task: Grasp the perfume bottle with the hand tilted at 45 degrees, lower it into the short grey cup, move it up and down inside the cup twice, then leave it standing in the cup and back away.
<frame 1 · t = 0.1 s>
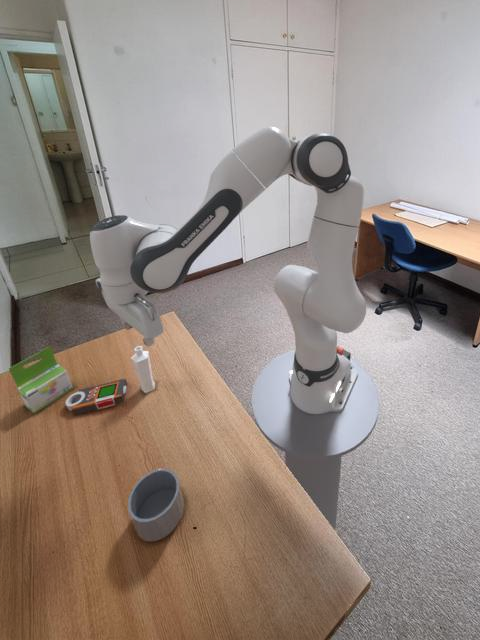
hand: (139, 335, 78), 26 cm above the table, tool pointing down, fingers open, 8 cm apart
ink box: (50, 397, 93), on the table
short grey cup: (160, 513, 68), on the table
perfume bottle: (148, 388, 96), on the table
electronic device: (98, 400, 92), on the table
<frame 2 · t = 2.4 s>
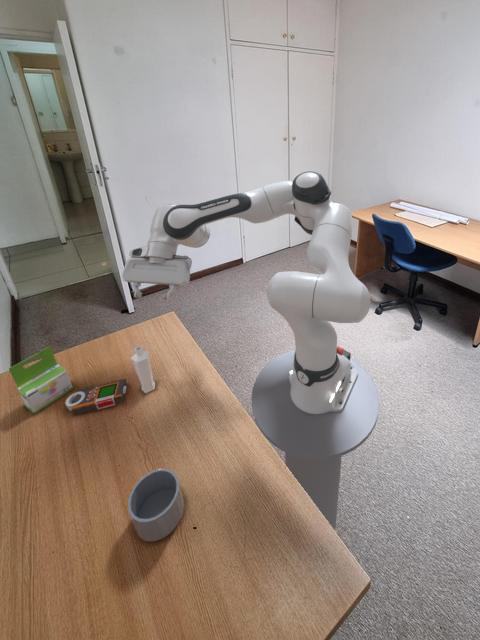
hand: (152, 298, 98), 23 cm above the table, tool tilted 40°, fingers open, 8 cm apart
nothing on the table moved.
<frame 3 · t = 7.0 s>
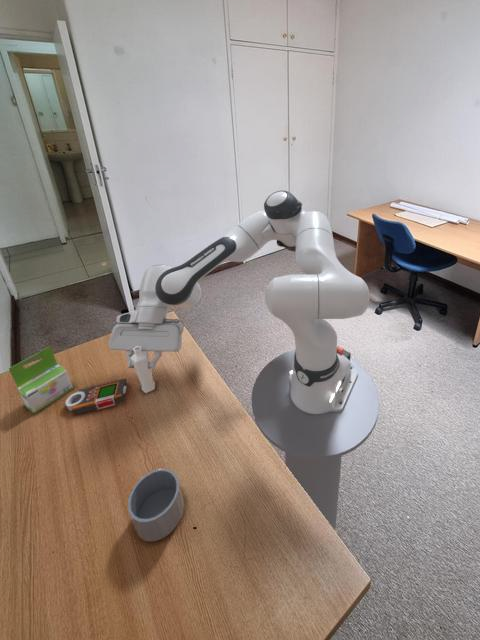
hand: (141, 368, 92), 8 cm above the table, tool tilted 45°, fingers closed on perfume bottle, 4 cm apart
perfume bottle: (148, 387, 96), on the table, touching gripper
everything else where it was.
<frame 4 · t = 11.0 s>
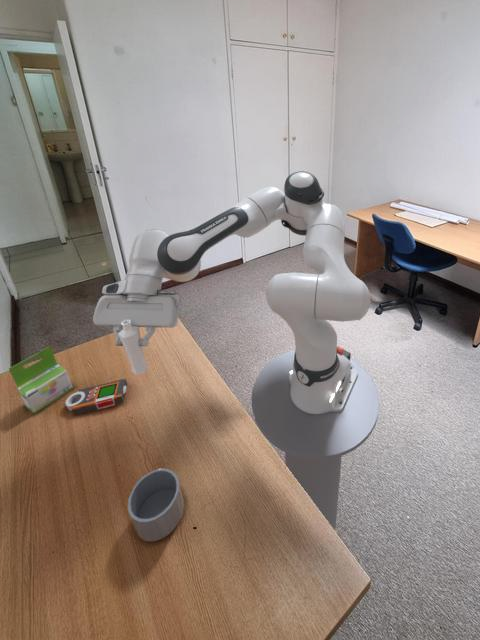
hand: (131, 346, 79), 23 cm above the table, tool tilted 45°, fingers closed on perfume bottle, 4 cm apart
perfume bottle: (139, 369, 83), point 15 cm above the table, touching gripper
everything else where it was.
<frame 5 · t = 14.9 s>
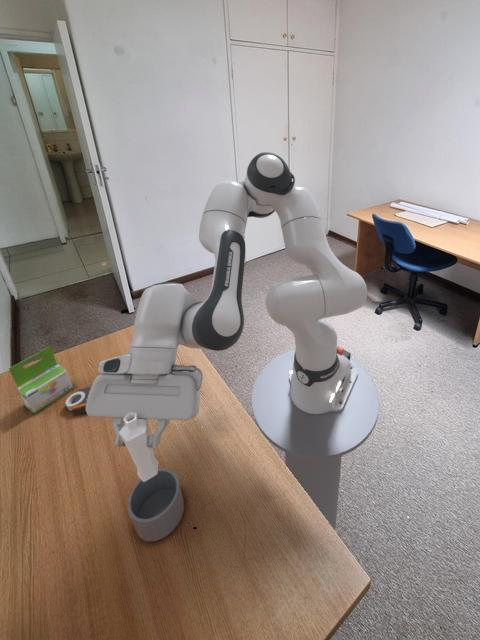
hand: (136, 446, 59), 22 cm above the table, tool tilted 45°, fingers closed on perfume bottle, 4 cm apart
perfume bottle: (147, 471, 63), point 13 cm above the table, touching gripper
everything else where it was.
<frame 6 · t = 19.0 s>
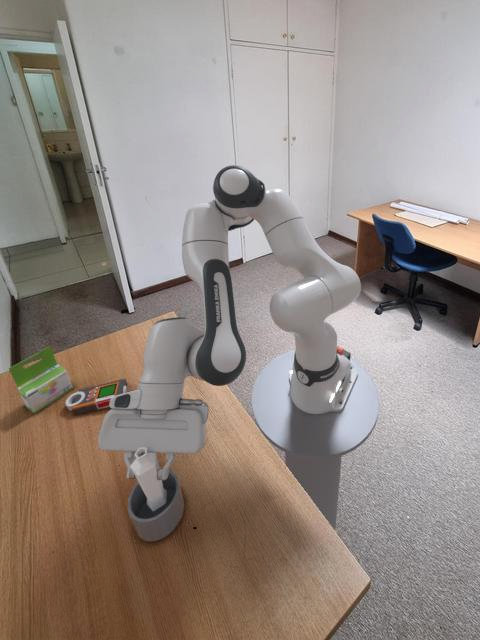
hand: (147, 478, 62), 13 cm above the table, tool tilted 45°, fingers closed on perfume bottle, 4 cm apart
perfume bottle: (156, 500, 66), point 4 cm above the table, touching gripper
everything else where it was.
when the fingers open (9 cm above the table, at t = 22.6 s): perfume bottle stays where it is, resting on short grey cup.
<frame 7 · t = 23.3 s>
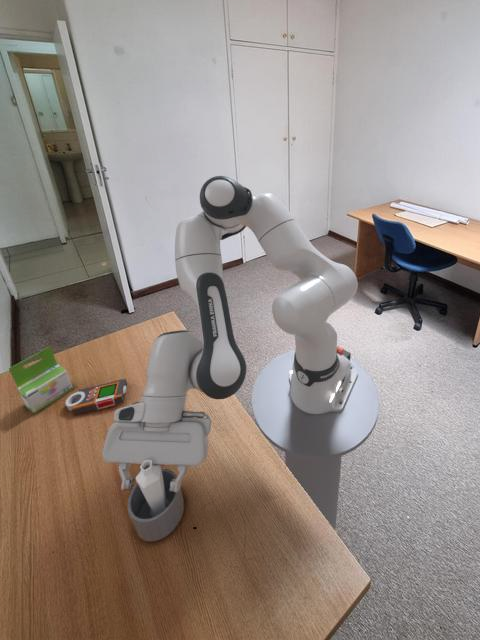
hand: (150, 490, 63), 9 cm above the table, tool tilted 45°, fingers open, 8 cm apart
perfume bottle: (159, 510, 68), resting on short grey cup
everything else where it was.
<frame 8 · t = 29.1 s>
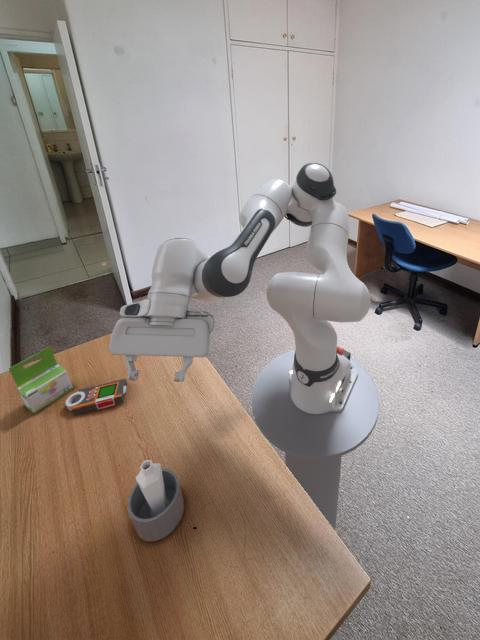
hand: (155, 380, 65), 27 cm above the table, tool tilted 45°, fingers open, 8 cm apart
nothing on the table moved.
at the end: perfume bottle 0.2 cm off-centre in the short grey cup, point 0.4 cm above the short grey cup's base; perfume bottle tilted 0°; the gripper is holding nothing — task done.
